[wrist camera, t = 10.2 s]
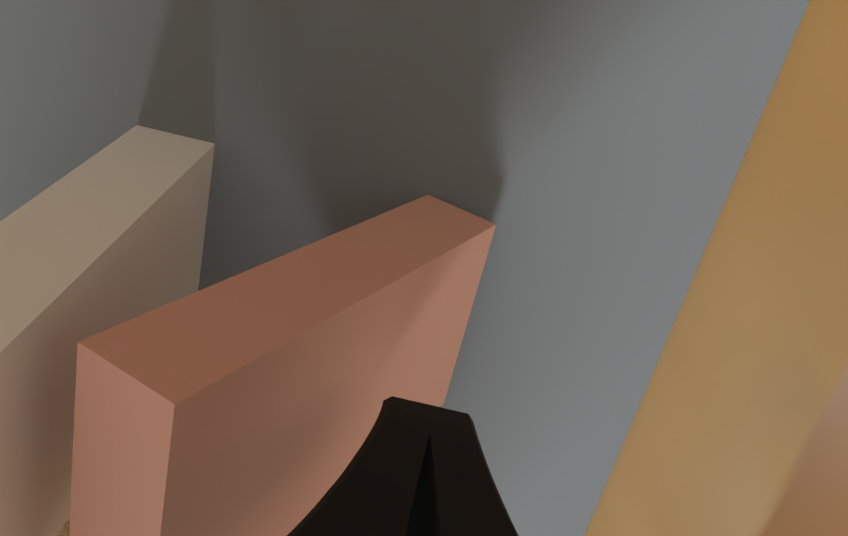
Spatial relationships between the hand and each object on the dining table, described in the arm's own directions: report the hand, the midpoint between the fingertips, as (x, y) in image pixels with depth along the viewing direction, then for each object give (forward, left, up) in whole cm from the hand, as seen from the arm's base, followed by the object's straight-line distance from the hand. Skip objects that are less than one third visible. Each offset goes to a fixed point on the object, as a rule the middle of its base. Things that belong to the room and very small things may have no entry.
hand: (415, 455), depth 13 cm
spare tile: (0, 0, -5) cm, 5 cm away
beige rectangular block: (0, +6, -5) cm, 8 cm away
